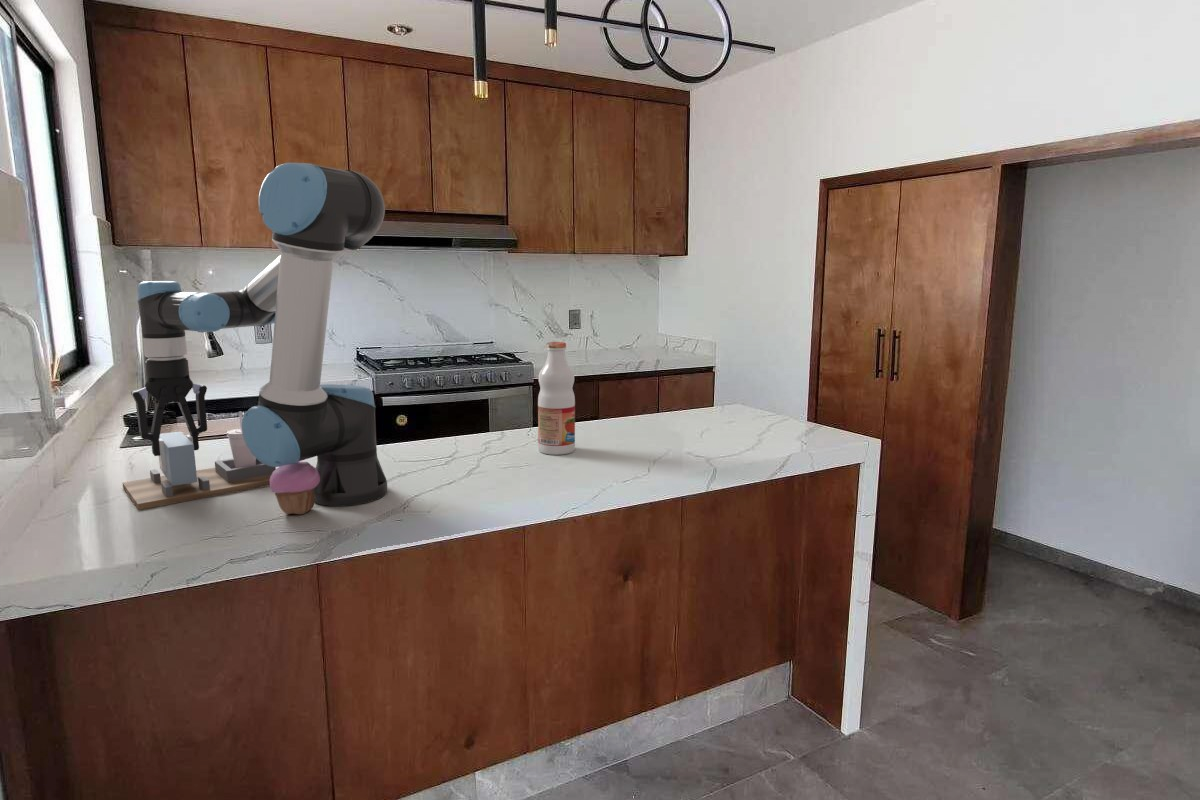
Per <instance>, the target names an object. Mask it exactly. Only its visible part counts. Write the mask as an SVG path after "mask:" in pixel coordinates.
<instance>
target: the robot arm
mask: <svg viewBox="0 0 1200 800" xmlns="http://www.w3.org/2000/svg"><path fill="white" fill-rule="evenodd" d="M385 207H386V205H385V202H384V197H383V194H382V192H381V190H380V188H379V187H378V186H377V185H376V184H375V182H374V181H373V180H372V179H371V178H369V177H368V176H367V175H364V174H363V173H360V172H358V171H355V170H349V169H341V168H335V167H328V166H325V165H324V166H323V165H317V164H313V163H311V162H310V163H306V162H302V163H301V162H285V163H282V164H279V165H277V166H275V168H274V169H273V170H272V171H270V172H269V173H268V174H267V175H266V177H264V180H263V181H262V184H261V187H260V190H259V195H258V211H259V213H260V215H262V218H261V220H262V222H263V223H264V225H265V227H267V228H268V229H269V230H271V231H272V234H271V241H272V242H273V243H274V244H275V246H276V247H277V248H278V249H279V251H280V255H279V256H277V258H276V259H274V260H273V261H272V262H271V263H270V264H269V265H268V266H266V267H265V269H263V271H261V272H260V273H259V274H257V276H256V277H255V278H253V279H252V280H251V282H249V283H248V284H246V286H244V287H243V288H242V289H239V290H226V291H225V290H224V291H203V292H202V291H199V292H198V291H195V292H189V291H187V292H184V291H182V287H181V284H180V283H179V282H178V281H173V280H172V281H170V280H153V281H152V280H151V281H148V280H147V281H145V280H144V281H141V282H139V284H138V286H137V296H138V299H137V304H138V305H137V306H138V311H139V320H140V327H141V334H142V343H143V344H142V345H143V353H144V354H143V355H144V357H145V358H147V359H146V360H145V372H146V382H145V385H144V387H142V388H140V389H137V390H136V389H135V390H131V392H130V394H131V397H132V398H133V399H134V400H133V401H134V402H135V407H136V416H137V423H138V431H139V432H138V433H139V436H140V438H142V439H143V440H149V441H150V442H151V443H150V444H151V453H152V455H153V456H154V457H158V464H159V469H160V471H161V472H162V473H163V472H165V471H167V469H166V460H165V451H164V441H163V440H162V439H161V438H159V437H160V434H161V430H162V424H163V418H164V412H165V409H166V404H171V403H177V405H178V407H179V409H180V412H181V414H182V417H183V419H184V423H185V425H186V427H187V429H188V430H187V431H188V433H189V434H185V436H186V437H187V438H188V439H189V440H190V441H191V442H192V443H193V444H194V451H199V449H200V443H199V435H200V434H202V433H203V432H204V433H206V432H207V431H208V422H207V409H206V399H205V397H206V393H207V390H208V388H207V386H206V385H204V384H202V383H200V384H198V383H194V382H193V381H192V379H191V378H190V369H189V368H190V367H189V359H188V358H187V357H185V356H187V355H188V349H187V340H186V331H192V332H197V333H214V332H217V331H220V330H225V329H233V328H234V329H235V328H246V327H248V328H249V327H264V326H266V325H273V324H274V326H273V337H272V347H271V348H272V349H271V360H270V371H269V372H270V374H269V381H268V382H267V383H265V384H264V385H263V386H261V387H260V388H259V391H258V404H257V405H254V406H251V407H250V408H249V409H248V410H247V411H246V412H244V414H243V415H242V434H243V438H244V440H245V443H246V445H247V447H248V448H249V449H250V451H251V453H252V454H253V455H254V456H255V457H256V458H257V459H258V460H259V461H260V462H262V463H263V464H265V465H268V466H272V467H276V468H279V466H284V465H292V464H295V463H297V462H303V461H305V460H308V459H311V458H315V457H317V458H316V461H317V462H316V466H315V468H316V470H317V471H318V473H319V475H320V482H319V484H318V485H317V486H316V487H315V489H314V504H319V505H322V506H332V507H344V506H345V507H347V506H354V505H355V506H356V505H361V504H368V503H370V502H374V501H377V500H379V499H382V498H383V497H385V496H386V495H387V493H388V491H389V490H388V481H387V478H386V475H385V473H384V470H383V468H382V466H381V462H380V460H379V458H378V449H377V425H376V404H375V399H374V392H373V391H372V390H371V389H370V388H369V387H367V386H363V385H362V386H361V385H353V384H336V383H335V384H330V383H329V384H328V383H327V384H326V383H325V384H324V383H323V384H322V383H321V379H322V370H323V360H324V351H325V342H326V333H327V323H328V314H329V302H330V296H331V295H330V294H331V285H332V276H333V268H334V267H333V266H334V265H333V264H334V263H335V262H336V261H337V260H339V259H340V258H341V257H342V256H343V255H345V254H346V253H347V252H348V251H351V252H352V251H357V250H360V248H362V247H363V246H364V245H365V244H366V243H368V242H369V241H370V240H371V239H372V238H373V237H374V236H375V235H376V234H377V232H378V231H379V230H380V229H381V226H382V225H383V221H384V219H385V218H384V217H385V214H386V209H385ZM191 390H193V391H192V392H193V393H194V394H195V405H196V407H195V408H196V415H197V416H196V418H197V426H196V423H195V421H194V419H193V416H192V415H193V414H192V412H191V409H190V408H189V404H188V401H187V398H186V397H187V396H188V394H189V393H190V391H191ZM147 393H148V394H149V395H150V396H151V397H152V398H154V399H155V400H154V410H153V416H152V417H153V418H152V424H151V429H150V432H149V427H148V426H149V425H148V419H147V418H148V417H147V411H146V403H145V400H146V398H147Z"/></svg>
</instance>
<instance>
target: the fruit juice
mask: <svg viewBox="0 0 1200 800" xmlns="http://www.w3.org/2000/svg"><path fill="white" fill-rule="evenodd" d="M546 350H547V357H546V359H545V363H544V365H543V366H542V368H541V369H540V371H539V373H538V383H539V387H540V389H539V393H538V397H537V413H538V414H537V418H538V419H537V420H538V421H537V424H538V427H537V429H538V430H537V431H538V432H537V435H538V443H537V445H538V451H539V452H540V453H542V454H545V455H551V456H560V455H561V456H562V455H567V454H571V453H573V452H574V451H575V448H576V399H575V398H576V397H575V393H574V390H573V386H574V383H575V374H574V372H573V370H572V368H571V367H570V365H569V364H568V362H567V357H566V351H565V350H567V343H566V342H564V341H548V342H547V343H546Z"/></svg>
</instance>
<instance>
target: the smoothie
mask: <svg viewBox="0 0 1200 800" xmlns="http://www.w3.org/2000/svg"><path fill="white" fill-rule="evenodd" d="M238 416H239V427H238V428H233V429H229V430H227V431H226V437H227V438H228V440H229V445H230V450H231V455H232V459H234V463H235V468H239V467H245V466H251V465H256V457H255V456H254V455H253V454H252V453H251V451H250V449H249V448H248V447H247V445H246V443H245V440H244V438H243V434H242V419H243V412H242V411H238Z"/></svg>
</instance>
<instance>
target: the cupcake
mask: <svg viewBox="0 0 1200 800" xmlns="http://www.w3.org/2000/svg"><path fill="white" fill-rule="evenodd" d="M319 482H320V475H319V473H318V471H317V470H316V466H315V467H314V466H313V465H312V464H311V463H310V462H308V461H299V462H297V463H295V464H292V465H284V466H279V467H276V470H274V471H273V473H272V475H271V477H270V486H269V488H270V490H271V492H272V493H274V494H275V498H276V500H277V502H278V503H277V504H278V505H279V508H280V510H282V512H283V513H284V514H285V515H291V514H295V515H304V514H306V513H308V512H309V511H311V510H312V509H313V508H314V506H315V502H314V489H315V487H316V486H317V485H318V484H319Z"/></svg>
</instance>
